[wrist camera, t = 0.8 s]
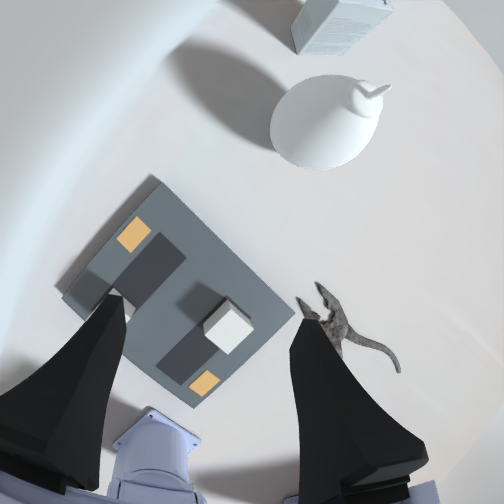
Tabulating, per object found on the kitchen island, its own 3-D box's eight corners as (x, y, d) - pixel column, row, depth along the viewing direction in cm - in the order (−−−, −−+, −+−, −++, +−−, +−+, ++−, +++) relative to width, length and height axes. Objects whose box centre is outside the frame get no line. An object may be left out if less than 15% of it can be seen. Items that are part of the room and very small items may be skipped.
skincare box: (334, 27, 31) (382, -22, 20) (342, 56, 32) (396, 12, 21) (287, 26, 31) (325, -32, 19) (295, 56, 31) (338, 3, 20)
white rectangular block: (115, 330, 30) (108, 342, 27) (93, 311, 30) (85, 321, 27) (135, 308, 30) (130, 318, 28) (113, 287, 30) (106, 296, 27)
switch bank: (193, 401, 35) (193, 409, 33) (66, 294, 31) (60, 298, 29) (291, 308, 35) (295, 313, 34) (163, 182, 31) (162, 181, 29)
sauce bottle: (271, 93, 32) (344, 6, 14) (336, 120, 33) (445, 69, 16) (248, 159, 32) (312, 113, 15) (317, 184, 34) (429, 173, 16)
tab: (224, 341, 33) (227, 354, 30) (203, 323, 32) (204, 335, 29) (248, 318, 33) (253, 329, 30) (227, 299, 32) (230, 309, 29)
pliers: (360, 417, 40) (259, 346, 35) (358, 413, 40) (257, 343, 36) (407, 366, 40) (318, 280, 35) (404, 363, 41) (315, 278, 36)
